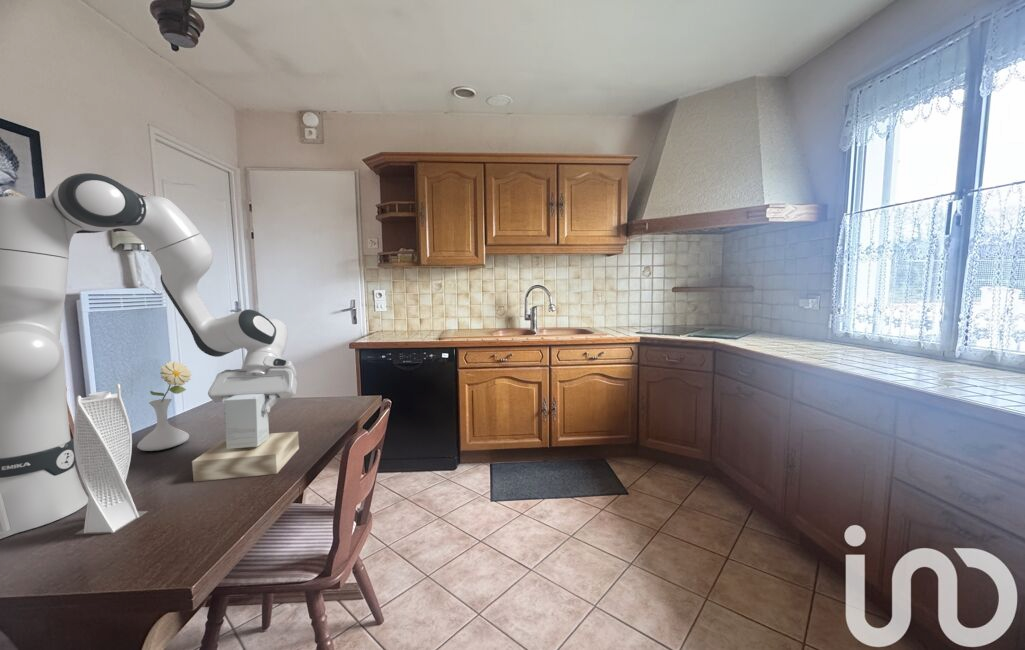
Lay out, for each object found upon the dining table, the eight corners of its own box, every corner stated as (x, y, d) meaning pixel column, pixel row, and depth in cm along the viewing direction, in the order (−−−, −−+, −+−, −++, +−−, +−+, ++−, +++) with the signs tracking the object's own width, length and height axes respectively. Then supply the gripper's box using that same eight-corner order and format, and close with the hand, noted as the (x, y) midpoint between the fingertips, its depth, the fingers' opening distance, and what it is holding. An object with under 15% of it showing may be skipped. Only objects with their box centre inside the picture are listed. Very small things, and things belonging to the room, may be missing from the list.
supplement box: (270, 437, 104) (268, 391, 103) (257, 447, 97) (256, 398, 96) (239, 439, 102) (238, 393, 102) (224, 449, 95) (223, 399, 95)
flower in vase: (145, 458, 104) (137, 368, 102) (131, 449, 110) (123, 364, 108) (203, 442, 115) (196, 360, 113) (187, 435, 121) (181, 357, 119)
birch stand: (193, 481, 91) (192, 461, 90) (228, 454, 106) (227, 436, 106) (276, 473, 94) (275, 454, 94) (299, 448, 110) (298, 431, 110)
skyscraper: (155, 512, 78) (142, 379, 76) (115, 538, 70) (101, 389, 68) (112, 514, 78) (98, 380, 76) (68, 539, 70) (51, 390, 68)
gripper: (214, 363, 103) (194, 409, 94) (296, 360, 107) (285, 404, 98) (223, 376, 108) (206, 421, 99) (302, 373, 112) (292, 416, 103)
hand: (246, 413), depth 99 cm, fingers closed on supplement box, 7 cm apart
